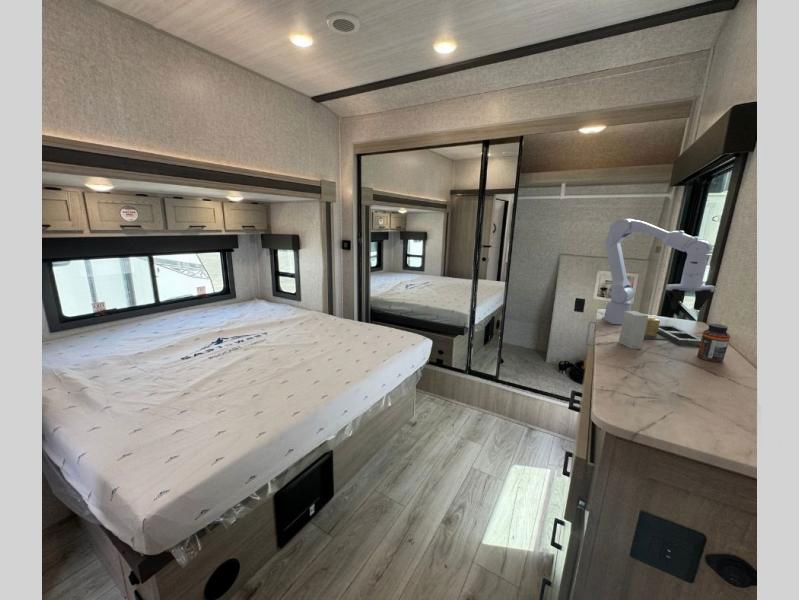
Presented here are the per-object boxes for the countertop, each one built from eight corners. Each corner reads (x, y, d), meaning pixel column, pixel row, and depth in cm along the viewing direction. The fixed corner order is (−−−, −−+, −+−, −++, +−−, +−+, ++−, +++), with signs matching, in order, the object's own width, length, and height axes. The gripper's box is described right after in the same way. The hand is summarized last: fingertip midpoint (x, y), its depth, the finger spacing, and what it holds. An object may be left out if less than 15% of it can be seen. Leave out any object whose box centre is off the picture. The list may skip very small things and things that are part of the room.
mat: (626, 330, 122) (626, 329, 122) (651, 331, 121) (651, 330, 121) (639, 338, 114) (639, 337, 114) (666, 340, 112) (666, 339, 112)
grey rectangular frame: (649, 329, 124) (650, 324, 124) (671, 330, 123) (672, 325, 122) (678, 345, 108) (679, 339, 107) (704, 346, 106) (705, 341, 106)
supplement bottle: (693, 353, 101) (701, 321, 98) (716, 356, 99) (725, 323, 96) (702, 361, 95) (711, 327, 93) (727, 364, 93) (737, 329, 90)
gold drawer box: (636, 332, 120) (639, 315, 118) (649, 332, 119) (652, 316, 117) (643, 336, 115) (646, 319, 114) (656, 336, 115) (660, 319, 113)
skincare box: (642, 348, 105) (649, 315, 102) (629, 348, 105) (636, 315, 102) (629, 342, 111) (635, 310, 108) (617, 342, 111) (623, 310, 108)
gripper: (678, 275, 109) (670, 311, 112) (725, 275, 106) (716, 313, 110) (665, 271, 115) (658, 306, 119) (709, 272, 113) (700, 307, 116)
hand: (685, 309), depth 115 cm, fingers open, 7 cm apart
